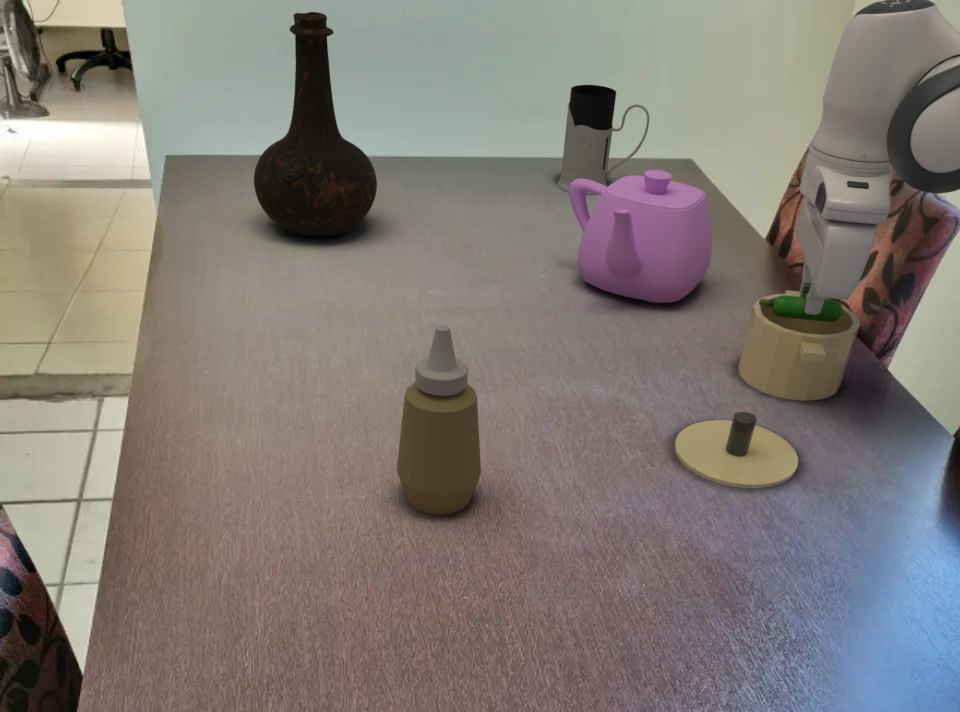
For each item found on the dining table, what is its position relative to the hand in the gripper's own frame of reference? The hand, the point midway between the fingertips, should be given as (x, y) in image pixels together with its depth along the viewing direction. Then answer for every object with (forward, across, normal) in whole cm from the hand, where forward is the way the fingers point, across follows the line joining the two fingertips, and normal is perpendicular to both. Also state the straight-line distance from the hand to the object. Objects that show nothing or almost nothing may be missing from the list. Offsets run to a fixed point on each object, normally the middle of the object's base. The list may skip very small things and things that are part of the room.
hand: (808, 305), depth 112 cm
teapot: (+10, -25, -18) cm, 32 cm away
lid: (+9, +20, -8) cm, 23 cm away
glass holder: (+10, -67, -25) cm, 72 cm away
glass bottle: (+10, -36, -67) cm, 77 cm away
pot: (+10, 0, 0) cm, 10 cm away
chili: (+2, 0, 0) cm, 2 cm away
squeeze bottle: (+10, +34, -38) cm, 52 cm away
